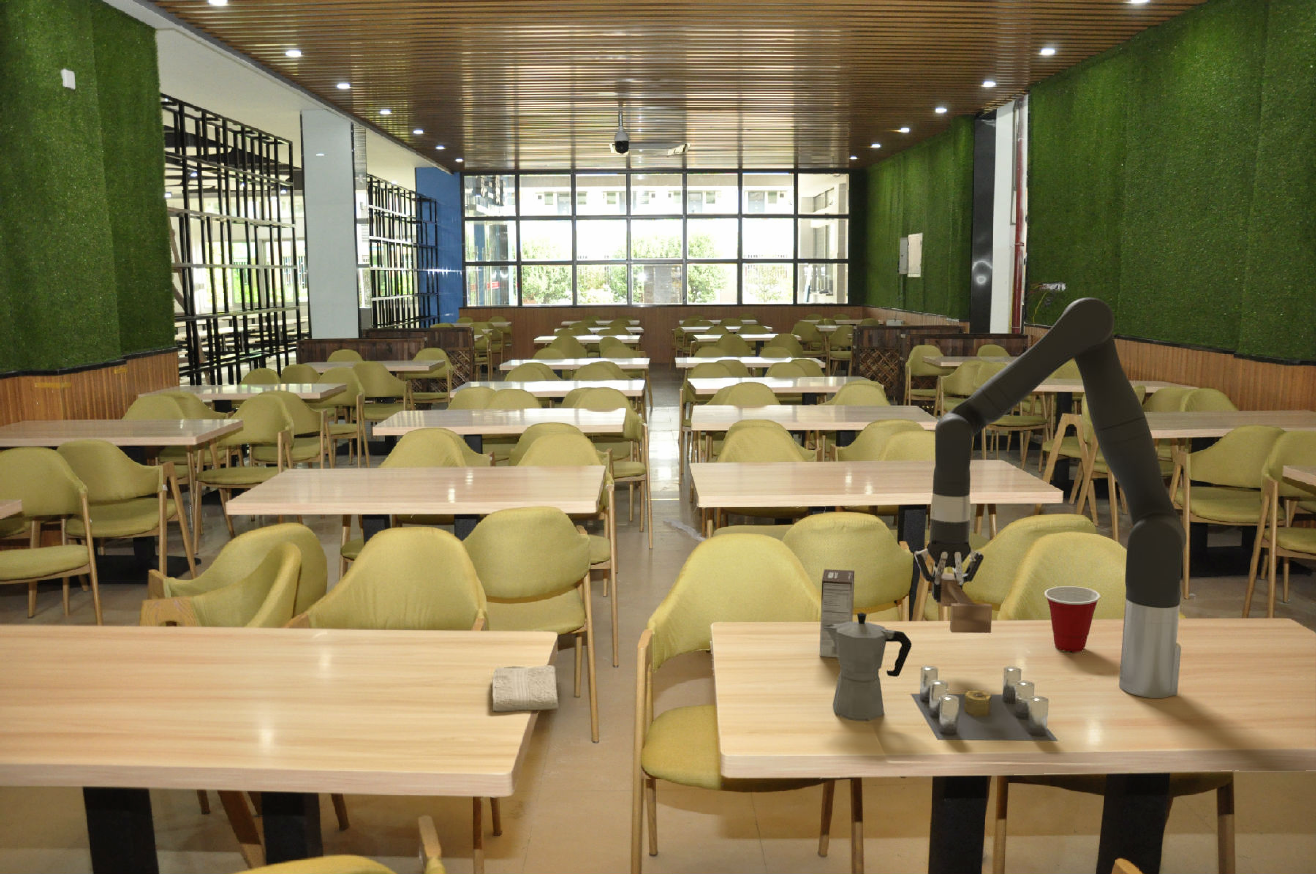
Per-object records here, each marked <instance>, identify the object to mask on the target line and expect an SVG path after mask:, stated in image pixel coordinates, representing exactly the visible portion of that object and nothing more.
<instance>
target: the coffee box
mask: <svg viewBox="0 0 1316 874" xmlns="http://www.w3.org/2000/svg"><path fill="white" fill-rule="evenodd" d="M854 595H855V570H849V569H831V568H830V569H829V568H828V569H824V570H823V574H822V579H821V595H820V598H821V601H820V602H821V604H820V629H819V630H820V633H819V656H820V657H828V658H838V650H837V647H836V645H835V643H834V642H833V640H832V638H831V636H830V634H829V633H828V631H827V630H826V629H824V628H825V627H826V626H827V625H831V624H842V623H845V622H854V602H855V601H854V597H855V596H854Z"/></svg>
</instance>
